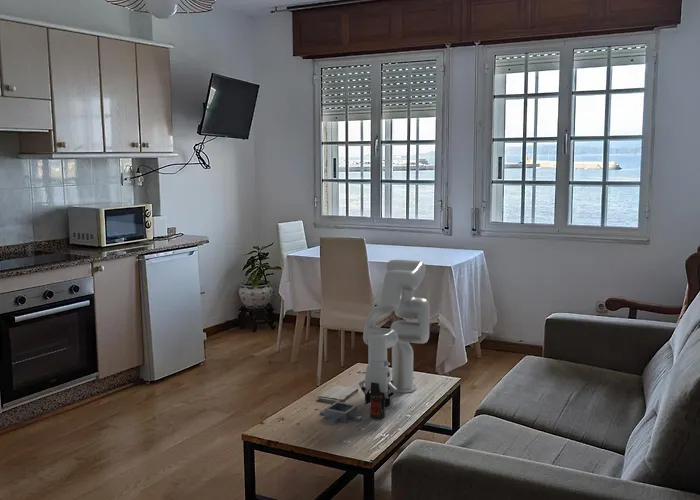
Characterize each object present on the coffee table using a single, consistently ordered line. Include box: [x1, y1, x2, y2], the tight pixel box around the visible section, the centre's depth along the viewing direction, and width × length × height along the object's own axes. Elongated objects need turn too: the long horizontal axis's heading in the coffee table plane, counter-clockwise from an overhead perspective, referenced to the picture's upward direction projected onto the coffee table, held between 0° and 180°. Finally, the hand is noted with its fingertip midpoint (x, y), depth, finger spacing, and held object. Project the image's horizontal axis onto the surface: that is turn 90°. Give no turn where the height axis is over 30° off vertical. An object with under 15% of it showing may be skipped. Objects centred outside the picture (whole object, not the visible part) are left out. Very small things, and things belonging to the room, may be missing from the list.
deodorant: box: [369, 382, 386, 421], centre depth 269 cm, size 6×6×15 cm
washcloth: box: [317, 385, 359, 404], centre depth 293 cm, size 12×18×3 cm, turn 154°
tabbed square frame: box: [320, 401, 363, 426], centre depth 270 cm, size 18×18×4 cm
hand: (377, 404), depth 269 cm, fingers open, 8 cm apart
